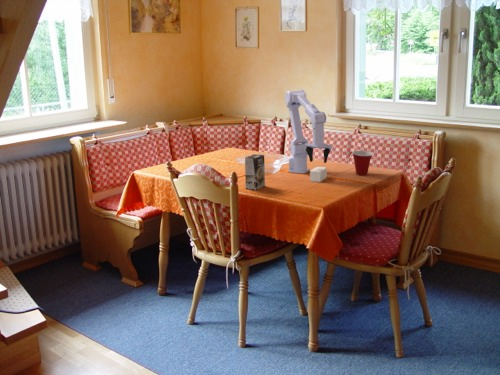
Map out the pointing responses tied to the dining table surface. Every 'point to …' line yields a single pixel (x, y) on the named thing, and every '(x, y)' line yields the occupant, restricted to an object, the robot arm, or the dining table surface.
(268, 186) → the dining table surface
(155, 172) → the dining table surface
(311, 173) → the cream rectangular prism
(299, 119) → the robot arm
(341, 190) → the dining table surface
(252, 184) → the coffee box
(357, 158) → the plastic cup
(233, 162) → the dining table surface
